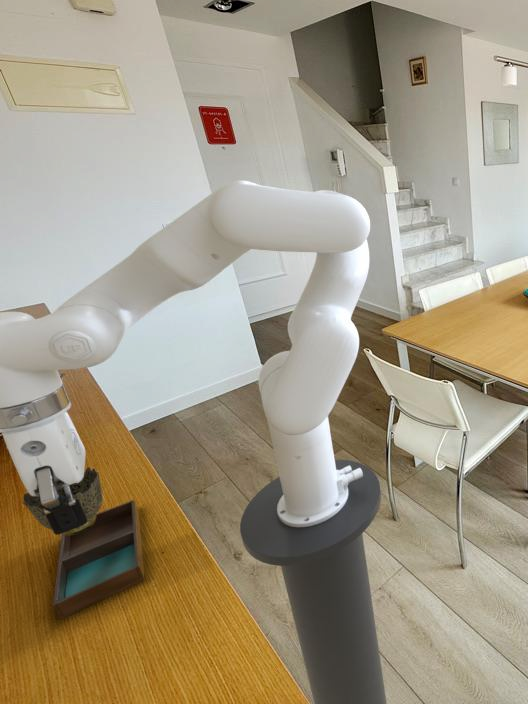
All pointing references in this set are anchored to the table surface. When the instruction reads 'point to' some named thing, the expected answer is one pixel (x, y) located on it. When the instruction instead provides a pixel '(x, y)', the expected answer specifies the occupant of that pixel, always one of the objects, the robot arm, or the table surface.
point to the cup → (84, 491)
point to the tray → (99, 560)
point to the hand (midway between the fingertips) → (73, 510)
